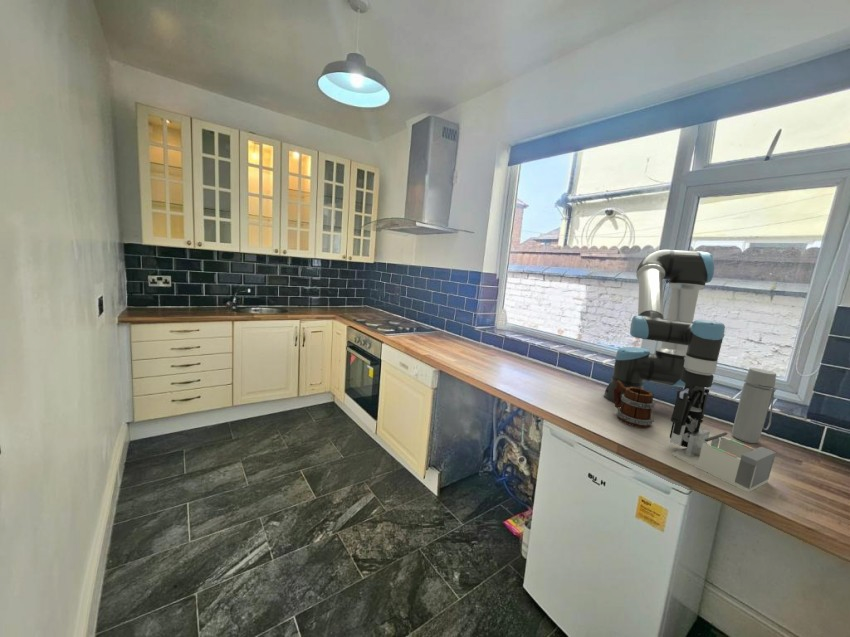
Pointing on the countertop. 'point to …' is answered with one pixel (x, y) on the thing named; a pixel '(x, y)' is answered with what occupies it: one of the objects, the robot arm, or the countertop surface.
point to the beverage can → (690, 424)
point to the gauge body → (733, 463)
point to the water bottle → (754, 405)
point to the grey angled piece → (701, 442)
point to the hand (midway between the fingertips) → (682, 441)
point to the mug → (634, 405)
